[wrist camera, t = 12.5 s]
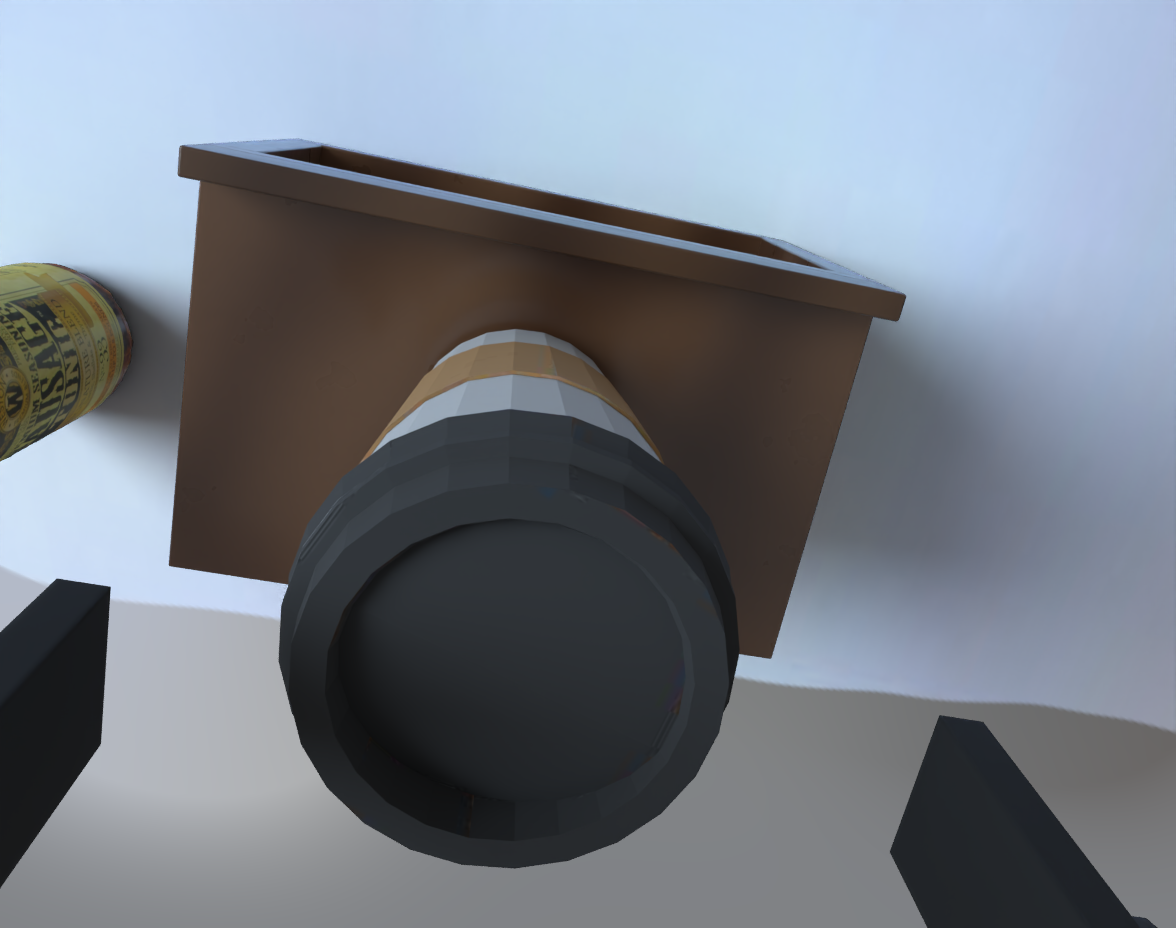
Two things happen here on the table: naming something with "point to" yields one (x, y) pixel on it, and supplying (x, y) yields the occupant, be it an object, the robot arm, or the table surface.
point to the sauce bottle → (55, 350)
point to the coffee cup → (509, 616)
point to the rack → (488, 304)
